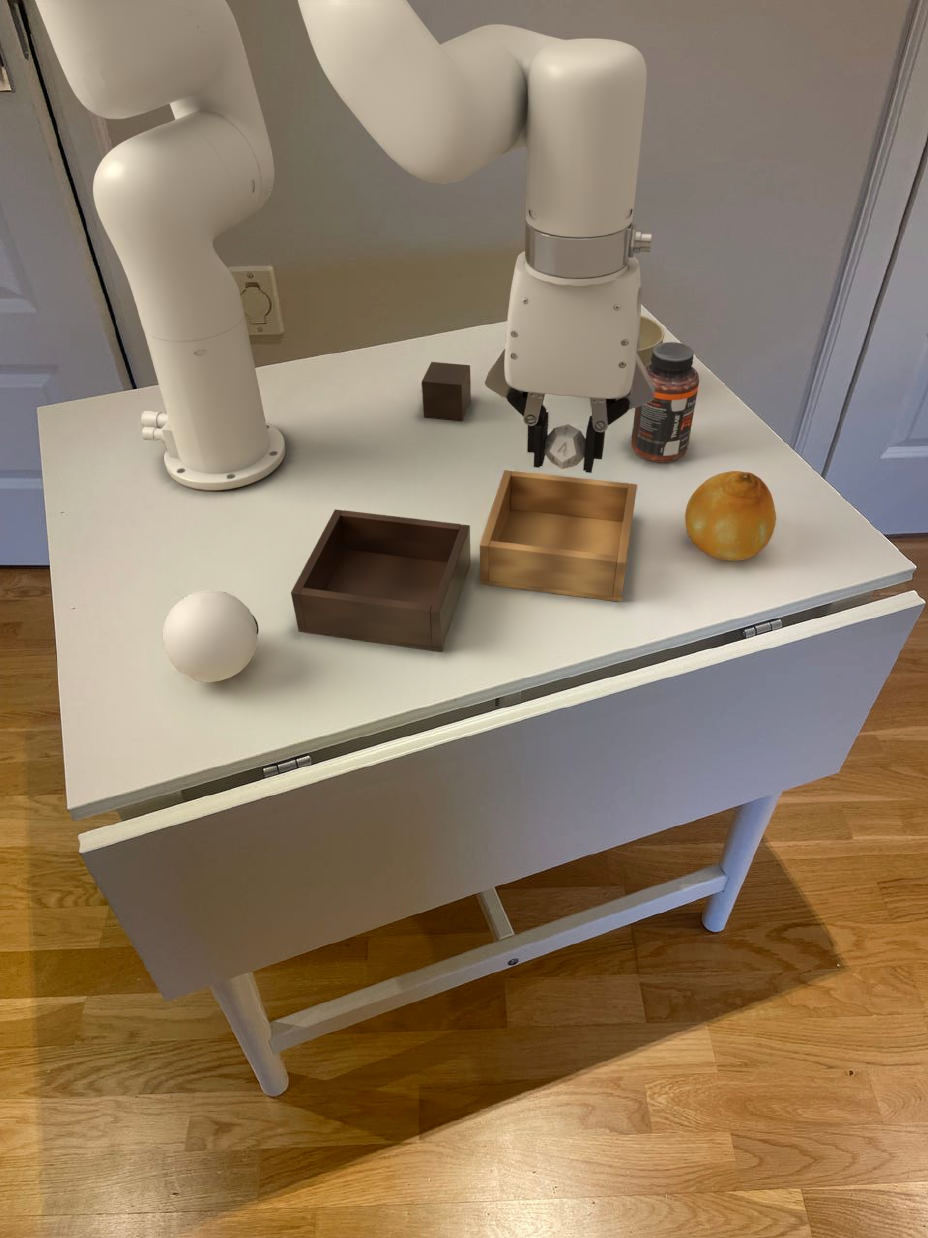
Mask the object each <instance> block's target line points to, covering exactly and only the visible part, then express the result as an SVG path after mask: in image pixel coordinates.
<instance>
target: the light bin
mask: <svg viewBox="0 0 928 1238" xmlns="http://www.w3.org/2000/svg"><path fill="white" fill-rule="evenodd" d="M500 478H501V479H500V482H499V484H498V488H497V491H496V494H495V497H494V500H493V503H492V506H491V509H490V512H489V515H488V517H487V521H486V525H485V528H484V531H483V534H482V536H481V537H482V538H481V540H480V543H479V584H480V585H486V586H494V587H501V588H502V587H503V588H508V589H509V588H510V589H518V590H526V591H534V592H541V593H548V594H556V595H565V596H573V597H581V598H586V599H588V598H589V599H596V600H602V601H611V602H619V603H621V602H622V599H623V591H624V584H625V577H626V570H627V563H628V556H629V550H630V549H629V547H630V541H631V535H632V534H631V533H632V527H633V519H634V512H635V505H636V504H635V503H636V497H637V490H638V484H637V483H628V482H621V481H612V480H600V479H593V478H592V479H591V478H583V477H573V476H563V475H555V474H545V473H538V472H537V473H536V472H535V473H534V472H527V471H519V470H518V471H517V470H510V469H509V470H507V469H504V470H503V473H502V475H501V477H500Z"/></svg>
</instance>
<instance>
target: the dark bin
mask: <svg viewBox="0 0 928 1238" xmlns="http://www.w3.org/2000/svg"><path fill="white" fill-rule="evenodd" d="M471 564H472V559H471V525H470V524H464V523H462V524H461V523H455V522H445V521H437V520H430V519H421V518H412V517H405V516H395V515H386V514H378V513H371V512H361V511H354V510H345V509H344V510H342V509H334V511H333V512H332V514H331V516H330V517H329V519H328V522H327V523H326V525H325V527H324V529H323V531H322V533H321V535H320V537H319V538H318V541H317V542H316V544H315V546H314V548H313V550H312V552H311V553H310V555H309V558H308V560H307V561H306V563H305V565H304V567H303V569H302V570H301V573H300V575H299V576H298V578H297V580H296V581H295V584H294V586H293V588H292V590H290V591H291V592H290V594H291V595H290V597H291V600H292V604H293V605H292V606H293V610H294V615H295V619H296V620H295V621H296V626H297V630H298V631H297V632H299V633H307V634H312V635H321V636H328V637H335V638H340V639H341V638H343V639H349V640H355V641H363V642H369V643H376V644H381V645H383V644H384V645H390V646H398V647H403V648H410V649H419V650H425V651H431V652H439V653H442V652H443V649H444V646H445V643H446V640H447V637H448V635H449V631H450V628H451V625H452V622H453V619H454V616H455V612H456V610H457V607H458V604H459V602H460V601H459V600H460V597H461V594H462V591H463V589H464V585H465V583H466V579H467V576H468V574H469V570H470V567H471Z"/></svg>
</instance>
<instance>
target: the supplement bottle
mask: <svg viewBox="0 0 928 1238" xmlns="http://www.w3.org/2000/svg"><path fill="white" fill-rule="evenodd" d="M694 356H695V351H694V349H693V348H692V347H690V345H687V344H685V343H681V342H676V341H666V342H663V343H661V344H658V345H656V346H655V347H654V349H653V353H652V357H651V363H649V364H647V365H646V366H645V369H646V371H647V373H648V374H649V376H650V378H651V380H652V382H653V384H654V386H655V395H654V399H653V400H652V401H651V402H648V403H646V404H643V405H641V406H639V407H636V408H634V415H633V424H632V432H631V442H630V443H631V444H630V445H631V448H632V450H633V452H634V453H635V454H636V455H637V456H638V457H640V458H642V459H644V460H646V461H649V462H650V461H651V462H656V463H670V462H674V461H677V460H678V459H680V458H682V457H683V456H684V455H685V454H686V452H687V450H688V447H689V443H690V436H691V431H692V426H693V419H694V413H695V409H696V404H697V397H698V392H699V385H700V376H699V373H698V371H697V369H695V367H693V364H694Z"/></svg>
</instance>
